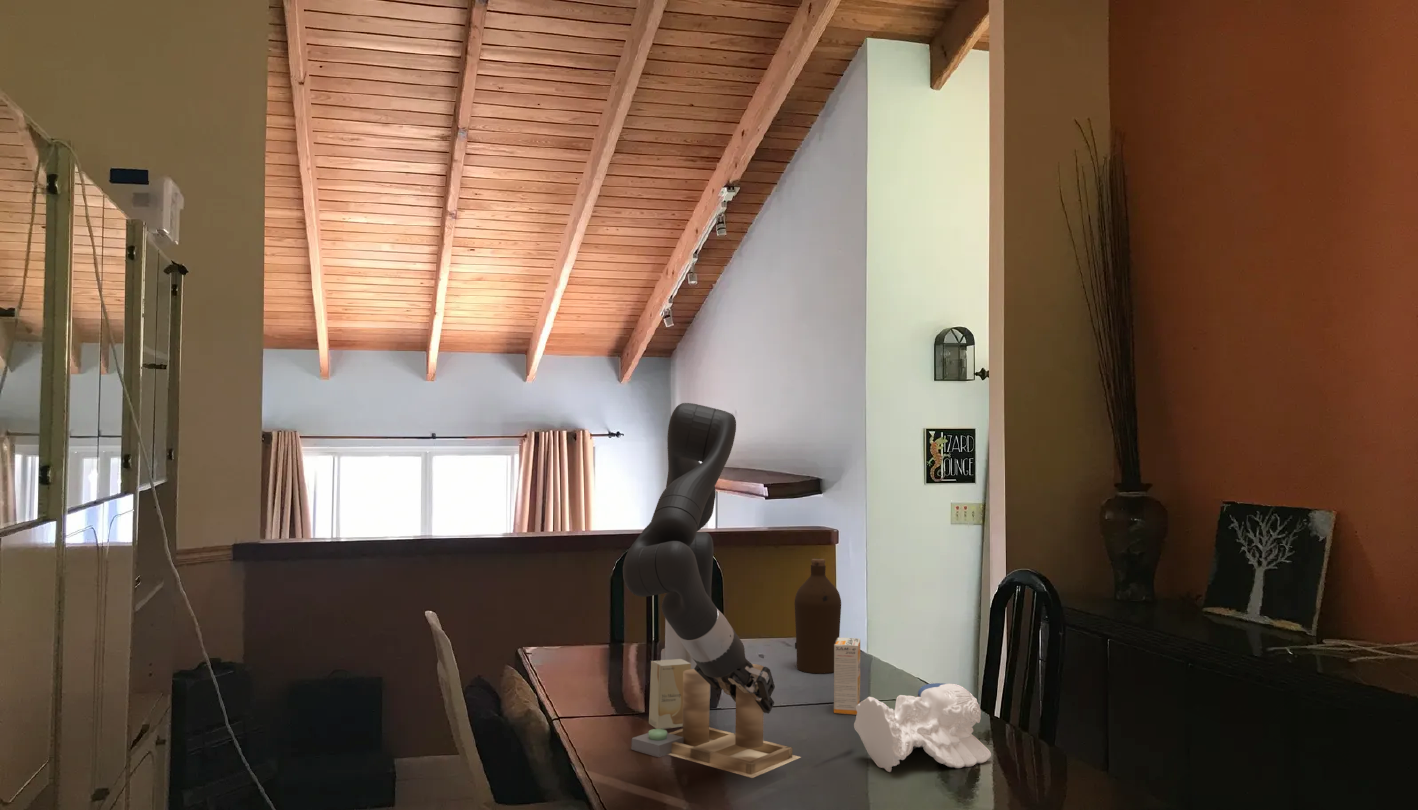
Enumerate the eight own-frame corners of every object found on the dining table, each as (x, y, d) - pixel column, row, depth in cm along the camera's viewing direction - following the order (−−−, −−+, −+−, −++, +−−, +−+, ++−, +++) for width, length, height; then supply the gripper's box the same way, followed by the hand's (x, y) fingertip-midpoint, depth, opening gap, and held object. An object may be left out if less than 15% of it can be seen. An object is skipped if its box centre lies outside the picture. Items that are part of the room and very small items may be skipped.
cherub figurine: (845, 690, 163) (943, 668, 171) (852, 765, 163) (951, 739, 171) (889, 707, 151) (993, 682, 159) (898, 788, 151) (1001, 760, 159)
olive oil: (850, 669, 224) (851, 559, 225) (820, 676, 217) (820, 563, 218) (814, 662, 232) (815, 555, 233) (784, 668, 225) (785, 558, 226)
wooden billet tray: (644, 755, 160) (644, 738, 161) (695, 737, 170) (695, 721, 171) (752, 785, 147) (752, 767, 147) (801, 764, 157) (801, 747, 157)
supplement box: (858, 715, 186) (859, 645, 187) (833, 713, 187) (833, 644, 188) (860, 704, 194) (861, 637, 195) (836, 702, 195) (836, 636, 196)
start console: (631, 756, 160) (631, 731, 160) (656, 748, 164) (656, 724, 164) (658, 764, 156) (659, 739, 156) (683, 755, 160) (683, 731, 161)
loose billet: (729, 743, 155) (730, 666, 155) (746, 737, 158) (747, 662, 159) (752, 749, 152) (753, 671, 153) (768, 743, 155) (769, 666, 156)
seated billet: (676, 745, 162) (677, 672, 162) (694, 739, 165) (695, 667, 166) (697, 751, 159) (698, 676, 159) (714, 745, 162) (715, 671, 163)
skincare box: (657, 736, 171) (659, 665, 171) (647, 730, 175) (648, 660, 175) (691, 732, 174) (692, 662, 174) (680, 725, 178) (681, 657, 178)
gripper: (759, 625, 146) (803, 693, 155) (685, 614, 155) (732, 679, 164) (736, 667, 141) (784, 734, 150) (662, 653, 150) (711, 717, 159)
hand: (756, 705), depth 157 cm, fingers closed on loose billet, 4 cm apart
